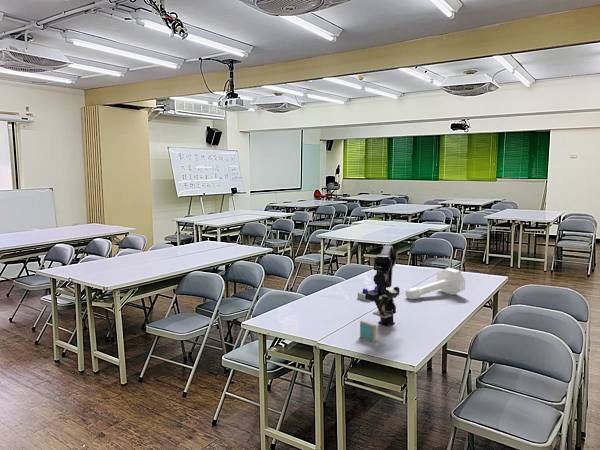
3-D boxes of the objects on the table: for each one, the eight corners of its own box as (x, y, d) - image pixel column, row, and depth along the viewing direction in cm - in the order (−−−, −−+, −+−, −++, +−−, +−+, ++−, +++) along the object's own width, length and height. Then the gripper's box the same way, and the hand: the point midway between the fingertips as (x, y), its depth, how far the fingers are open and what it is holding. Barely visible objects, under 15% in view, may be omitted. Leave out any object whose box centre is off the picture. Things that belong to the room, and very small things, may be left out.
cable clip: (367, 299, 291) (367, 290, 291) (362, 297, 295) (362, 288, 294) (381, 296, 298) (381, 287, 297) (376, 294, 302) (376, 285, 301)
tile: (359, 336, 227) (359, 321, 226) (362, 336, 228) (362, 320, 227) (372, 342, 220) (373, 326, 219) (375, 341, 221) (375, 325, 220)
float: (372, 314, 230) (372, 302, 229) (379, 312, 233) (379, 301, 232) (384, 318, 224) (384, 306, 223) (391, 316, 227) (391, 304, 226)
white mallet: (395, 281, 302) (438, 268, 314) (402, 307, 301) (445, 293, 313) (415, 281, 279) (461, 266, 291) (423, 309, 278) (468, 293, 290)
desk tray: (356, 298, 295) (356, 292, 294) (376, 294, 305) (376, 288, 305) (368, 302, 287) (368, 296, 286) (388, 297, 297) (388, 291, 297)
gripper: (381, 286, 214) (381, 318, 216) (407, 280, 226) (407, 311, 227) (364, 282, 223) (364, 313, 225) (390, 276, 234) (390, 306, 236)
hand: (382, 311), depth 228 cm, fingers closed on float, 2 cm apart
